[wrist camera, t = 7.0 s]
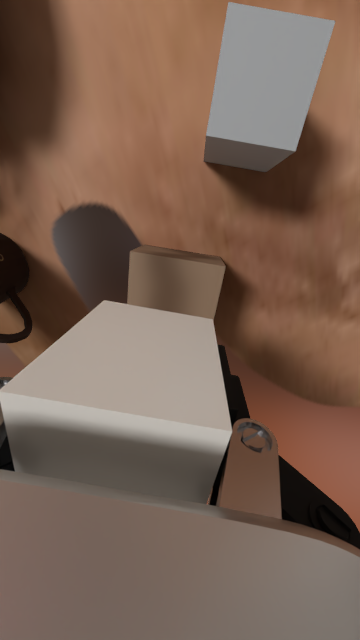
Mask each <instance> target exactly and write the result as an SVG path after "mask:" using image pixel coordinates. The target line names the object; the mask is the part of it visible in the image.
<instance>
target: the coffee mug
mask: <svg viewBox="0 0 360 640" xmlns="http://www.w3.org/2000/svg"><path fill="white" fill-rule="evenodd" d="M28 278H29V268H28V263H27V261H26V258H25V256H24V254H23V253H22V251H21V250H20V248H19V247H18V246H17V245H16V244H15V243H14V242H13V241H12V240H11V239H9V238H8V237H7V236H5V235H3V234H1V233H0V303H2V302H4V301H5V300H7V299H9V298H10V299H11V300H12V302H13V303H14V305H15V306H16V308H17V309H18V311H19V312H20V314H21V315H22V317H23V319H24V325H25V329H24V330H23V331H21V332H19V333H16V334H0V343H14V342H18V341H20V340H23V339H25V338H27V337H28V336H29V335H30V333H31V330H32V320H31V317H30V314H29V312H28V310H27V309H26V307H25V306H24V304H23V303H22V301H21V300H20V298H19V297H18V296H17V293H19V292H20V291H21V290H23V289H24V287H25V286H26V284H27V282H28Z"/></svg>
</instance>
